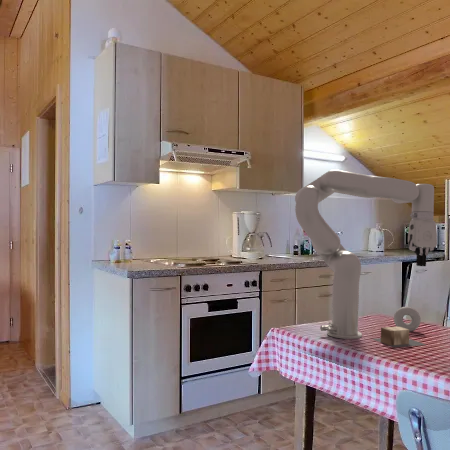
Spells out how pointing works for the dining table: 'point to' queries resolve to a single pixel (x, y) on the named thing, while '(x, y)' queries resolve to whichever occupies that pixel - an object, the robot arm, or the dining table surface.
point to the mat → (411, 343)
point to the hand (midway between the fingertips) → (421, 265)
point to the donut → (412, 313)
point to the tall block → (395, 335)
